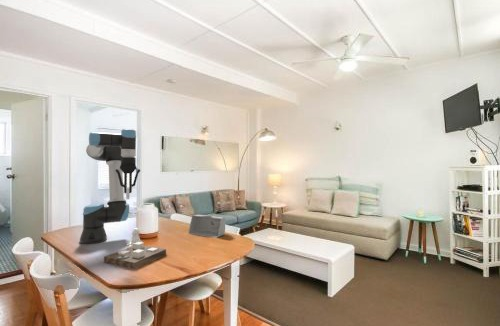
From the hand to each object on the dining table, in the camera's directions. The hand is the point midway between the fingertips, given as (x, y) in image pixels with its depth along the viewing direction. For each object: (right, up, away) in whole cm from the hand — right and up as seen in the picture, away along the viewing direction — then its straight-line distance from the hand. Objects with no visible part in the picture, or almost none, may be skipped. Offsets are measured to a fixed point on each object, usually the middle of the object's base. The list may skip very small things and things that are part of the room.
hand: (127, 198), depth 154 cm
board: (+9, -30, -9) cm, 33 cm away
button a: (+3, -30, -11) cm, 32 cm away
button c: (+7, -28, -2) cm, 29 cm away
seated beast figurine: (0, -30, +9) cm, 32 cm away
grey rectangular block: (+39, -31, +44) cm, 66 cm away
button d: (+16, -30, -6) cm, 34 cm away
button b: (+12, -28, -15) cm, 34 cm away
